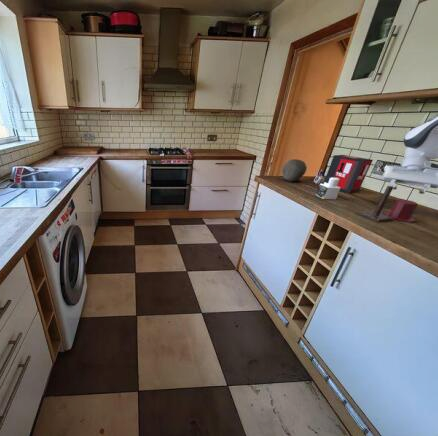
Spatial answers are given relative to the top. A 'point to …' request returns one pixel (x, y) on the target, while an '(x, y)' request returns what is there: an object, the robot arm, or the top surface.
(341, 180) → the cleaning product box
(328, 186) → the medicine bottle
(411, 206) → the hat
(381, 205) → the hat stand
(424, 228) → the top surface
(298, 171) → the grey stone ball
